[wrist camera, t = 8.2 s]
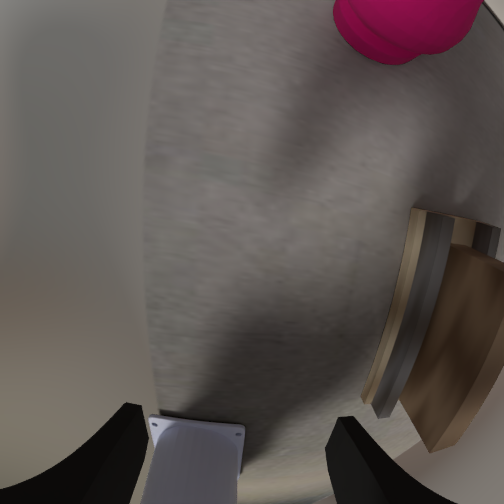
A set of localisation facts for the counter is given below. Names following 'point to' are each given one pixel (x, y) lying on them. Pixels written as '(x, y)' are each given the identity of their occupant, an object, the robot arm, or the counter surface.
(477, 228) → the track board
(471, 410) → the door panel
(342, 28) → the pepper mill
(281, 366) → the counter surface
